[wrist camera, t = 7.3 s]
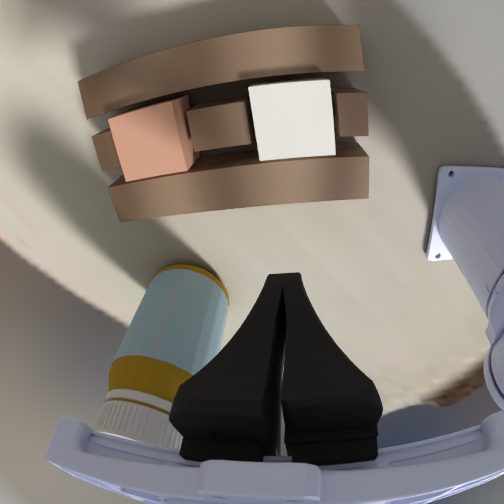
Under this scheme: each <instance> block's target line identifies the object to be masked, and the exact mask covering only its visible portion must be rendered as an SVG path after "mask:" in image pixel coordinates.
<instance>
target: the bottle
mask: <svg viewBox="0 0 504 504" xmlns="http://www.w3.org/2000/svg"><path fill="white" fill-rule="evenodd" d="M228 306H229V296H228V293H227V291H226V289H225V287H224V285H223V284H222V283H221V282H220V281H219V280H218V279H217V278H216V277H215V276H214V275H213V274H211V273H210V272H208V271H206V270H205V269H203V268H200V267H197V266H194V265H184V264H176V265H171V266H167V267H165V268H163V269H161V270H160V271H158V272H157V274H156V275H155V277H154V278H153V280H152V281H151V283H150V285H149V287H148V289H147V291H146V293H145V295H144V297H143V299H142V301H141V303H140V305H139V307H138V309H137V311H136V313H135V315H134V318H133V320H132V322H131V324H130V326H129V328H128V330H127V332H126V334H125V337H124V339H123V341H122V343H121V345H120V348H119V350H118V352H117V354H116V357H115V359H114V361H113V363H112V367H111V369H110V371H109V392H108V393H107V396H106V398H105V402H104V405H103V406H102V408H101V410H100V413H99V415H98V418H97V421H96V423H95V426H94V428H93V430H94V431H98V432H101V433H105V434H109V435H113V436H117V437H121V438H125V439H129V440H134V441H138V442H143V443H148V444H153V445H159V446H165V447H171V448H177V449H180V448H181V443H182V439H183V436H182V435H181V434H180V433H179V432H178V431H177V430H176V429H175V428H174V427H173V425H172V424H171V422H170V421H169V414H170V411H171V407H172V403H173V400H174V397H175V395H176V393H177V390H178V388H179V386H180V385H181V384H182V383H184V382H185V381H186V380H188V379H189V378H190V377H192V376H193V375H194V374H196V373H197V372H198V371H200V370H201V369H202V368H203V367H204V366H205V365H206V364H207V363H209V362H210V361H211V360H212V359H213V358H214V357H215V356H216V355H217V354H218V353H219V351H220V346H221V342H222V337H223V332H224V327H225V322H226V318H227V313H228Z"/></svg>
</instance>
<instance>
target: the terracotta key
mask: <svg viewBox="0 0 504 504" xmlns="http://www.w3.org/2000/svg"><path fill="white" fill-rule="evenodd" d="M190 109H191V108H190V103H189V99H188V95H185V96H181V97H176V98H172V99H168V100H164V101H160V102H156V103H152V104H148V105H145V106H141V107H138V108H134V109H131V110H128V111H126V112H124V113H121V114H119V115H116V116H114V117H112V118H110V119H108V121H109V125H110V129H111V133H112V136H113V140H114V143H115V147H116V150H117V154H118V157H119V161H120V164H121V167H122V170H123V174H124V177H125V180H126V182H128V181H133V180H138V179H143V178H148V177H154V176H159V175H165V174H171V173H177V172H183V171H188V169H189V168H190V167H191V166H192V164H193V163H194V162H195V161H196V159H197V158H198V157H199V156H200V151H198V152H195V151H194V146H193V142H192V137H191V133H190V128H189V124H188V119H187V114H186V111H188V110H190Z"/></svg>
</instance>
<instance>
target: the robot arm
mask: <svg viewBox="0 0 504 504" xmlns="http://www.w3.org/2000/svg"><path fill="white" fill-rule="evenodd" d="M450 171H452V174H451V175H449V172H450ZM438 253H439V254H438ZM436 254H438V255H437V256H436ZM426 257H427V259H428V260H429V261H438V260H449V259H454V261H455V262H456V264H457V265H458V267H459V269H460V270H461V272H462V273H463V275H464V277H465V278H466V280H467V282H468V284H469V285H470V287H471V289H472V290H473V292H474V294H475V296H476V298H477V299H478V301H479V303H480V305H481V307H482V308H483V310H484V312H485V314H486V316H487V318H488V320H489V324H488V327H487V329H486V331H485V333H486V335H487V337H488V339H489V342H490V344H491V347H490V348H489V350H488V352H487V354H486V357H485V361H484V376H485V381H486V384H487V387H488V390H489V392H490V394H491V396H492V397H493V399H494V400H495V402H496V403H497V404H498V406H499V407H500V408H501V409H502V411H499V412H497V413H494V414H492V415H490V416H489V417H487V418H486V419H485V420H484V421H483V422H482V424H481V425H478V426H475V427H472V428H469V429H465V430H462V431H459V432H455V433H452V434H448V435H444V436H440V437H436V438H433V439H428V440H424V441H419V442H415V443H410V444H405V445H400V446H394V447H388V448H382V449H378V448H377V436H378V430H377V424H378V422H379V420H380V418H381V415H382V412H383V407H382V403H381V399H380V396H379V394H378V391H377V389H376V387H375V385H374V383H373V381H372V380H371V379H370V378H368V377H367V376H366V375H365V374H364V373H363V372H362V371H361V370H360V369H359V368H357V366H356V365H355V364H354V363H353V362H352V361H351V360H350V359H349V358H348V357H347V356H346V355H345V354H344V352H343V351H342V350H341V349H340V348H339V347H338V345H337V344H336V343H335V342H334V340H333V339H332V338H331V336H330V335H329V333H328V332H327V330H326V329H325V327H324V326H323V324H322V323H321V321H320V319H319V318H318V316H317V314H316V312H315V310H314V309H313V307H312V304H311V302H310V300H309V298H308V296H307V294H306V291H305V288H304V285H303V282H302V278H301V274H300V273H298V272H297V273H282V274H269V275H268V276H267V279H266V281H265V284H264V286H263V289H262V291H261V293H260V295H259V297H258V299H257V301H256V303H255V304H254V306H253V308H252V310H251V311H250V313H249V315H248V316H247V318H246V319H245V321H244V322H243V324H242V325H241V327H240V328H239V330H238V331H237V332H236V333H235V335H234V336H233V337H232V339H231V340H230V341H229V342H228V343H227V344H226V345H225V347H224V348H223V349H222V350H221V351H220V352H219V353H218V354H217V355H216V356H215V357H214V358H213V359H212V360H211V361H210V362H209V363H207V364H206V365H205V366H204V367H203V368H202V369H201V370H200V371H198V372H197V373H196V374H194V375H193V376H192V377H190V378H189V379H188V380H186V381H185V382H184V383H182V384H181V385H180V386H179V388H178V390H177V393H176V395H175V397H174V400H173V403H172V407H171V411H170V414H169V421H170V422H171V424H172V425H173V427H174V428H175V429H176V430H177V431H178V432H179V433H180V434H181V435H182V436H183V439H182V443H181V448H180V449H177V448H171V447H165V446H159V445H153V444H148V443H143V442H138V441H134V440H129V439H125V438H121V437H117V436H113V435H109V434H105V433H101V432H98V431H94V430H92V429H91V428H90V427H89V426H88V425H87V424H85V423H84V422H82V421H79V420H76V419H73V418H70V417H67V416H61V419H60V421H59V424H58V426H57V429H56V431H55V433H54V436H53V438H52V441H51V443H50V446H49V449H48V451H47V454H46V457H45V459H46V460H47V461H49V462H51V463H52V464H54V465H56V466H57V467H59V468H60V469H62V470H64V471H66V472H67V473H69V474H71V475H73V476H75V477H76V478H79V479H81V480H84V481H86V482H88V483H91V484H94V485H96V486H99V487H101V488H104V489H107V490H110V491H112V492H115V493H118V494H121V495H124V496H127V497H130V498H133V499H136V500H139V501H143V502H146V503H150V504H425V503H429V502H432V501H435V500H439V499H442V498H445V497H447V496H451V495H453V494H456V493H459V492H462V491H465V490H467V489H470V488H472V487H475V486H477V485H480V484H482V483H485V482H487V481H489V480H492V479H494V478H497V477H498V476H500V475H502V474H503V473H504V168H494V167H474V166H442V167H440V169H439V171H438V178H437V188H436V196H435V204H434V212H433V218H432V225H431V231H430V237H429V242H428V248H427V253H426ZM284 357H285V360H284ZM283 366H284V371H283ZM282 375H283V380H282ZM281 406H282V410H283V416H284V422H285V437H284V443H285V444H286V449H287V454H288V456H280V455H281V454H280V452H281Z"/></svg>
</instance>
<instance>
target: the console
mask: <svg viewBox="0 0 504 504" xmlns="http://www.w3.org/2000/svg"><path fill="white" fill-rule="evenodd" d="M341 71H364V62H363V53H362V44H361V36H360V29H359V25H314V26H297V27H284V28H274V29H265V30H257V31H250V32H243V33H237V34H231V35H225V36H220V37H215V38H210V39H205V40H201V41H196V42H192V43H188V44H184V45H180V46H176V47H173V48H169V49H165V50H162V51H158V52H155V53H152V54H149V55H145V56H142V57H139V58H136V59H133V60H130V61H128V62H125V63H122V64H119V65H116V66H114V67H111V68H109V69H106V70H103V71H101V72H99V73H96V74H94V75H91V76H89V77H87V78H84V79H82V80H80V81H78V84H79V88H80V93H81V97H82V101H83V105H84V109H85V113H86V117H87V119H89V118H92V117H95V116H97V115H100V114H103V113H106V112H109V111H112V110H115V109H118V108H121V107H125V106H128V105H131V104H134V103H138V102H141V101H145V100H149V99H152V98H156V97H160V96H164V95H168V94H172V93H176V92H180V91H185V90H189V89H194V88H199V87H204V86H209V85H214V84H220V83H225V82H231V81H238V80H244V79H251V78H259V77H267V76H276V75H287V74H299V73H314V72H341ZM331 98H332V109H333V121H334V129H335V130H336V132H337V133H338V135H339V136H340V137H344V136H368V113H367V96H366V93H365V92H362V91H360V90H357V89H355V88H339V89H331ZM186 114H187V119H188V124H189V128H190V133H191V137H192V142H193V146H194V151H195V152H198V151H204V150H210V149H217V148H224V147H231V146H239V145H247V144H251V143H252V141H253V138H254V135H255V128H254V121H253V115H252V109H251V102H250V96H245V97H238V98H231V99H225V100H219V101H213V102H208V103H202V104H199V105H197V106H195V107H193V108H192V109H190V110H188V111H186ZM92 138H93V142H94V145H95V149H96V152H97V155H98V158H99V162H100V165H101V168H102V171H105V170H109V169H113V168H117V167H121V164H120V161H119V157H118V154H117V150H116V147H115V143H114V140H113V136H112V133H111V129H110V128H108V129H106V130H104V131H102V132H100V133H98V134H96V135H94V136H92ZM335 151H336V155H327V156H311V157H298V158H286V159H275V160H265V161H260V160H259V153H258V150H251V151H243V152H235V153H227V154H220V155H213V156H206V157H200V158H197V159H196V161H195V162H194V163H193V164H192V166H191V167H190V168H189V169H188V171H183V172H177V173H171V174H165V175H159V176H154V177H148V178H143V179H138V180H133V181H128V182H126V180H125V177H124V174H123V175H122V176H121V177H120V178H119V179H117V180H116V181H115V182H114V183H113V184H112V185H111V186H109V187H108V189H109V192H110V195H111V198H112V201H113V203H114V206H115V209H116V212H117V214H118V217H119V220H120V222H124V221H132V220H139V219H147V218H154V217H162V216H170V215H179V214H187V213H196V212H205V211H214V210H224V209H234V208H244V207H255V206H266V205H278V204H290V203H303V202H317V201H332V200H348V199H366V198H369V156H368V155H367V153H366V152H365V151H364V150H363V149H362V147H361V146H360V145H359V144H358V143H335Z"/></svg>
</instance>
